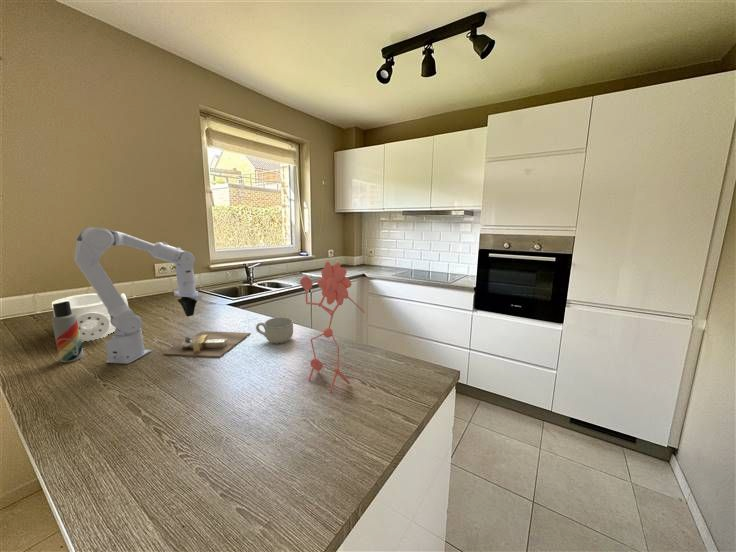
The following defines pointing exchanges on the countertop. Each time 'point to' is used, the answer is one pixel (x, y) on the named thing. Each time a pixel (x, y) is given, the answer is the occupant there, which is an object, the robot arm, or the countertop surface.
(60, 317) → the lotion bottle
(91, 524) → the countertop surface
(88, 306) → the housing
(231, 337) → the walnut board
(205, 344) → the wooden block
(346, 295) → the figurine
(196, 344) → the brass keeper
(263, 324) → the teacup
